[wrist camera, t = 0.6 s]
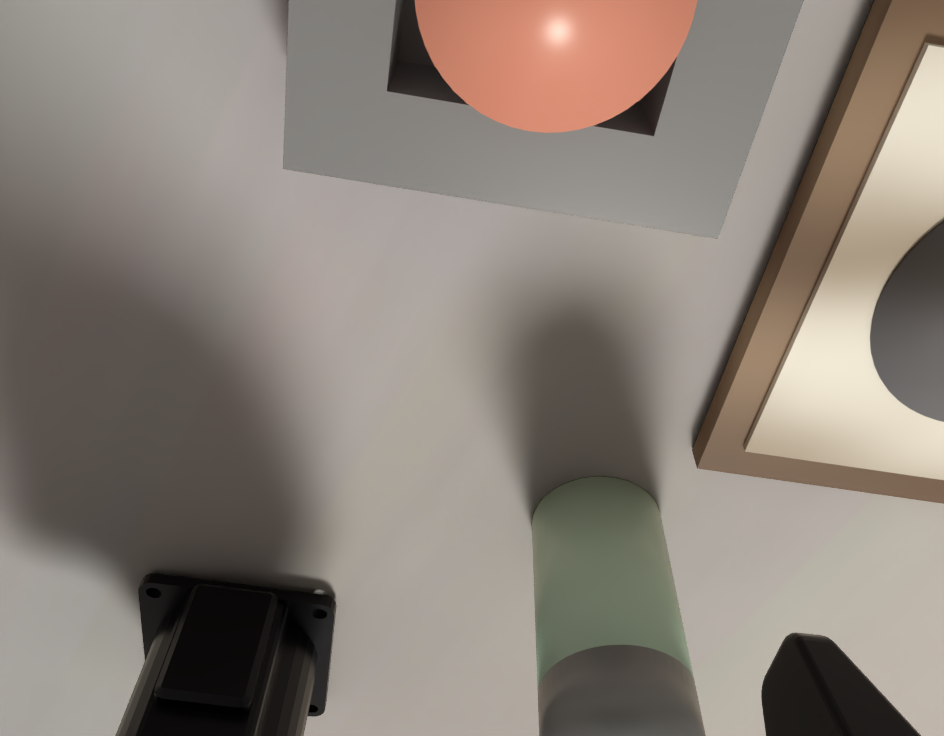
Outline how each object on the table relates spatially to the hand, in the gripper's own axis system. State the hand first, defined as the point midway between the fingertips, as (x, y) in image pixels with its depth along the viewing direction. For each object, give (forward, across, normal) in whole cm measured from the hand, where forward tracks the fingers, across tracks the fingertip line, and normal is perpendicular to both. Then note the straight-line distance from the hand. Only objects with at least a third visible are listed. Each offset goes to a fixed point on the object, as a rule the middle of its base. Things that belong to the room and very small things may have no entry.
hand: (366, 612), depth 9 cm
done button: (+10, -2, -5) cm, 11 cm away
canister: (+14, -6, +11) cm, 19 cm away
